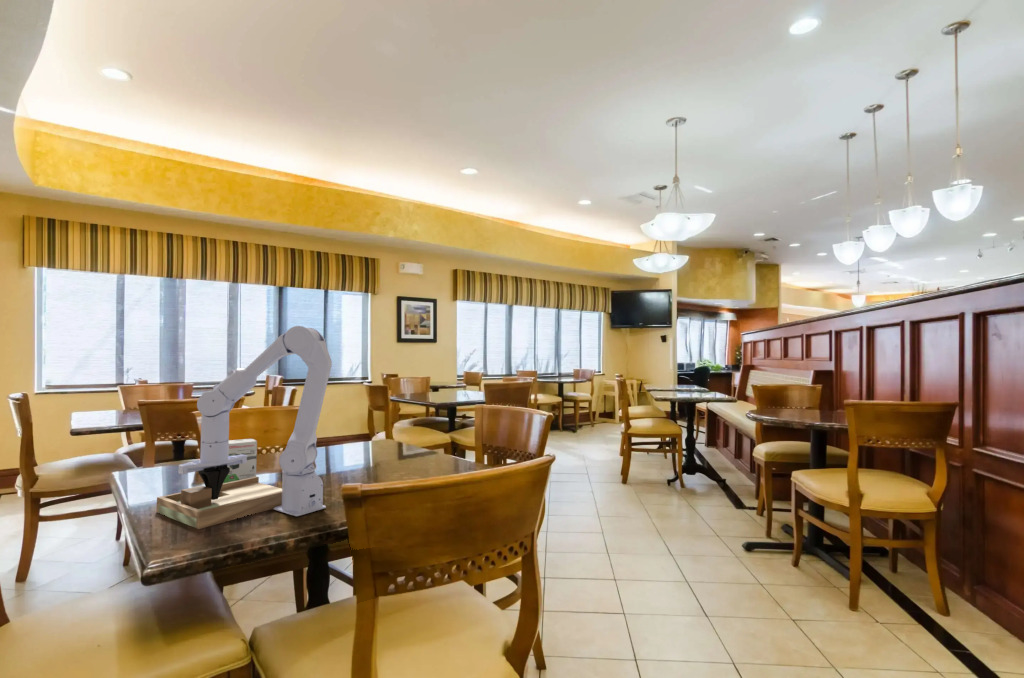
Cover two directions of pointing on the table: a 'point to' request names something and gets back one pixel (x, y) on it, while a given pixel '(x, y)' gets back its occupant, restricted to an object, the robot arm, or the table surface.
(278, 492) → the board
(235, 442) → the ink box
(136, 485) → the table surface
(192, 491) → the walnut block
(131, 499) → the table surface
